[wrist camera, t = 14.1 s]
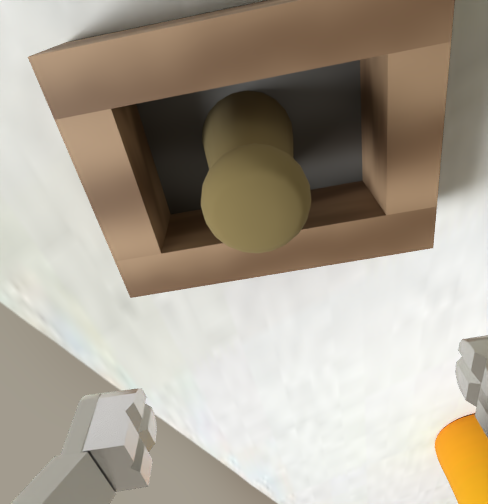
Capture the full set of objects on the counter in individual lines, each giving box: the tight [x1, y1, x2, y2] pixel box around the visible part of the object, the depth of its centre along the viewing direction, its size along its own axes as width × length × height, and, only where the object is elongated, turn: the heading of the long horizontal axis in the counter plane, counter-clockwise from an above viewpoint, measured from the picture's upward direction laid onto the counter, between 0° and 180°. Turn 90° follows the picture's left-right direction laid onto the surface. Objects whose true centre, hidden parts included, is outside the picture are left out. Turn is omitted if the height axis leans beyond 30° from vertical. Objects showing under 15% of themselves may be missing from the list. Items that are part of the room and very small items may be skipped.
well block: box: [28, 0, 455, 298], centre depth 25 cm, size 15×20×6 cm
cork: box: [201, 91, 311, 253], centre depth 23 cm, size 6×6×11 cm
